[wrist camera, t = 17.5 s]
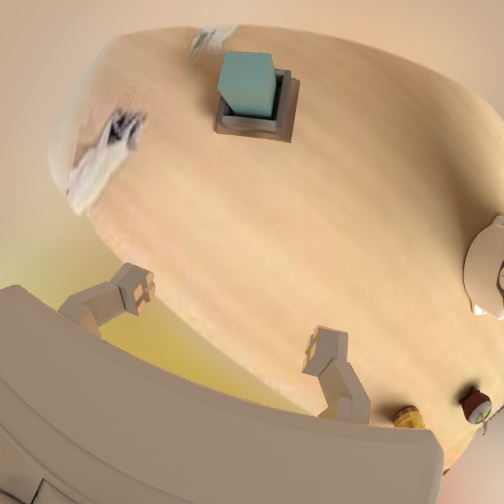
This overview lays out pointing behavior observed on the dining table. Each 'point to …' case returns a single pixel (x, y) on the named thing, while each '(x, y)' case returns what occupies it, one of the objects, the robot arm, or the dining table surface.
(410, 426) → the sauce bottle
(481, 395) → the mate gourd
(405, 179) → the dining table surface
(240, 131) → the box
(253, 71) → the teal block
